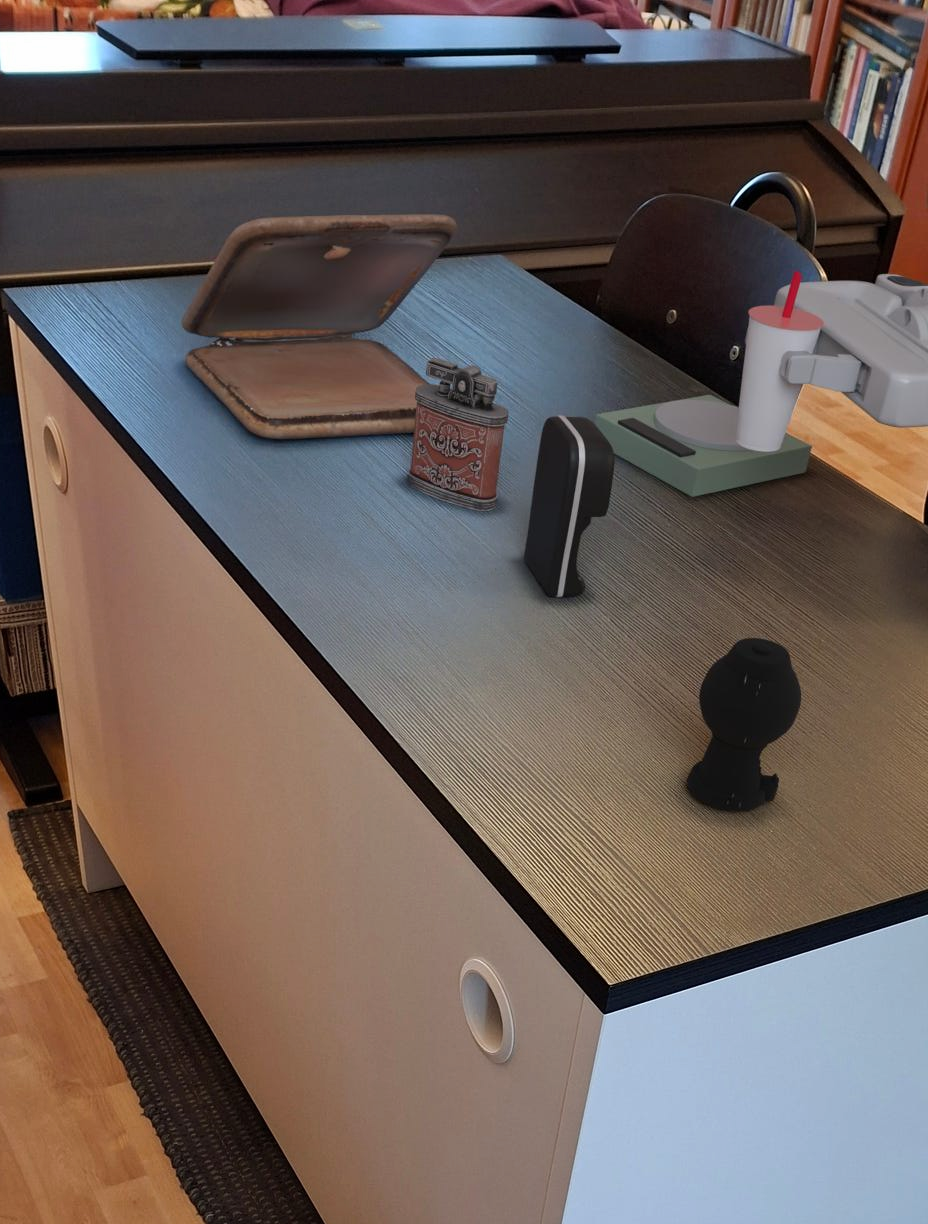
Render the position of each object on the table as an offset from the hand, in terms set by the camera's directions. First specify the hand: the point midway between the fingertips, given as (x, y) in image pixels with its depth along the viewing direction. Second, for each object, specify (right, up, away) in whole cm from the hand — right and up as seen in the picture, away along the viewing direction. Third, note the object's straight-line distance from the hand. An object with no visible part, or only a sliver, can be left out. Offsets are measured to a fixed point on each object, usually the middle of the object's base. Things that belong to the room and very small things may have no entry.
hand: (766, 351), depth 114 cm
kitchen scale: (-1, +2, +27) cm, 27 cm away
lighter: (-23, -5, +15) cm, 28 cm away
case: (-34, +8, +28) cm, 45 cm away
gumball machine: (-6, -34, -16) cm, 38 cm away
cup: (0, -5, +5) cm, 7 cm away
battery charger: (-15, -15, +5) cm, 22 cm away
